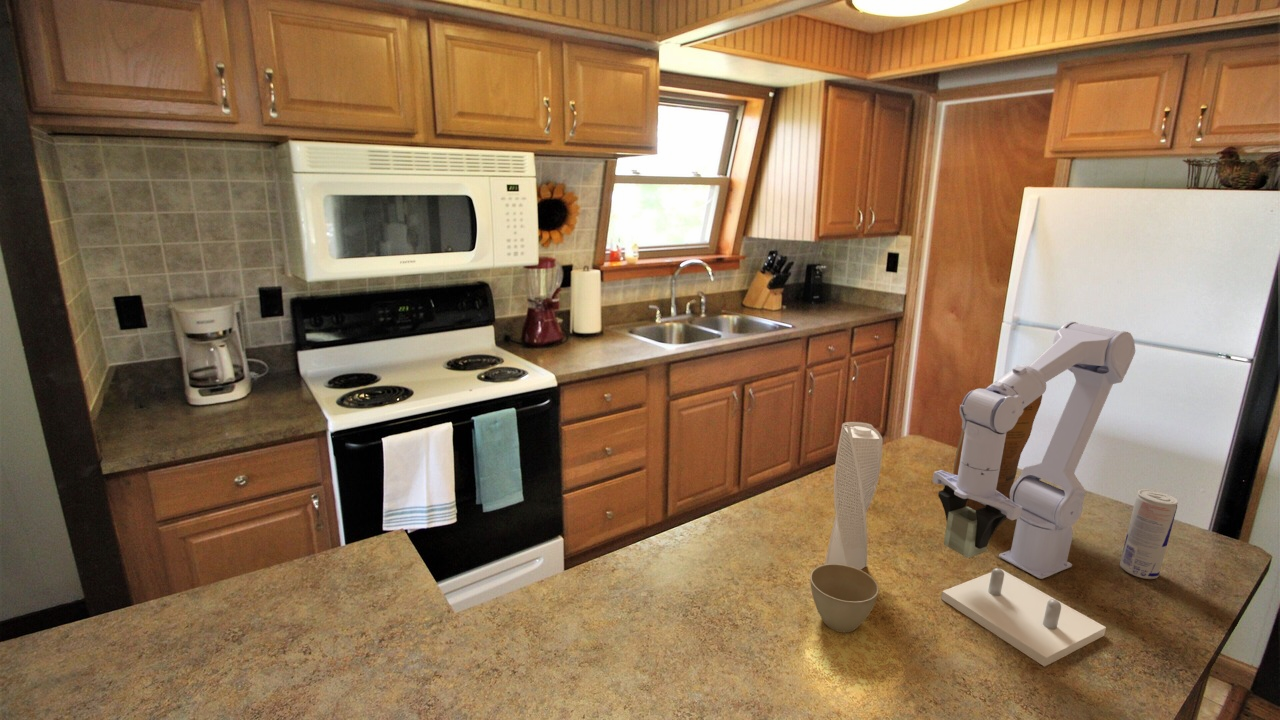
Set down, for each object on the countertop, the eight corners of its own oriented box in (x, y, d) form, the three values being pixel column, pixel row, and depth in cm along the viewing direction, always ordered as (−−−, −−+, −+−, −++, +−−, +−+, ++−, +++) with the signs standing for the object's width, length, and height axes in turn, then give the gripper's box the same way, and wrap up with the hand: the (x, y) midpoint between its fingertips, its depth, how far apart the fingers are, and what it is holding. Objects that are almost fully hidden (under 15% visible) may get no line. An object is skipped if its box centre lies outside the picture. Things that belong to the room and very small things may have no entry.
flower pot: (872, 609, 101) (878, 570, 99) (873, 650, 92) (879, 608, 90) (808, 596, 104) (812, 557, 102) (803, 634, 95) (807, 593, 93)
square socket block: (962, 538, 108) (967, 506, 107) (986, 551, 104) (992, 519, 103) (943, 544, 106) (948, 512, 105) (967, 558, 102) (973, 524, 101)
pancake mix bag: (1032, 514, 133) (1057, 387, 126) (954, 523, 129) (976, 392, 121) (1007, 499, 139) (1030, 378, 132) (932, 507, 135) (952, 382, 128)
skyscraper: (851, 584, 108) (871, 430, 100) (814, 564, 113) (830, 417, 106) (875, 567, 113) (895, 419, 105) (838, 549, 118) (855, 408, 111)
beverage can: (1165, 583, 110) (1186, 505, 106) (1129, 578, 111) (1148, 501, 107) (1147, 565, 115) (1166, 490, 111) (1113, 561, 116) (1131, 486, 112)
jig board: (998, 576, 111) (1004, 546, 109) (1103, 635, 96) (1112, 602, 95) (941, 599, 104) (946, 567, 103) (1044, 666, 89) (1052, 631, 88)
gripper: (924, 450, 106) (914, 523, 109) (1006, 486, 93) (991, 567, 97) (953, 444, 109) (942, 515, 112) (1036, 478, 96) (1020, 556, 100)
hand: (966, 538), depth 105 cm, fingers closed on square socket block, 5 cm apart
